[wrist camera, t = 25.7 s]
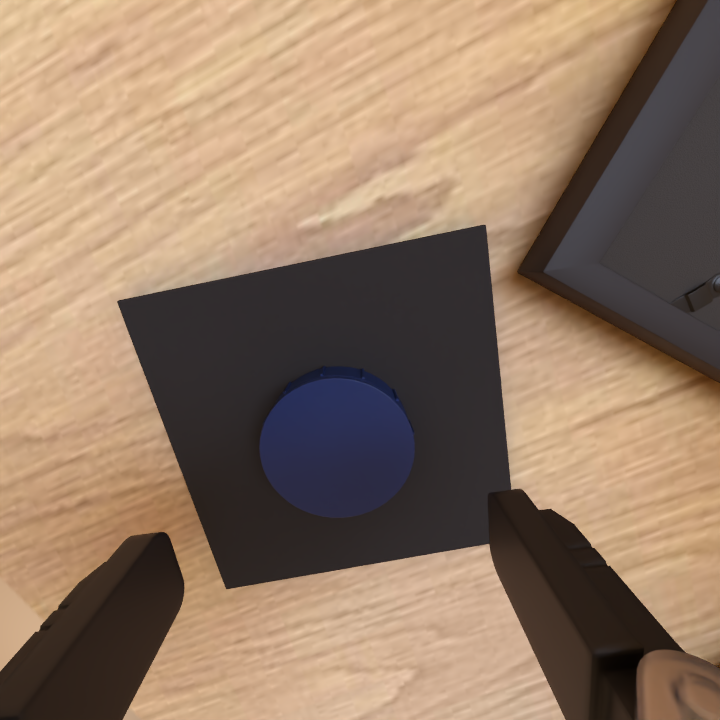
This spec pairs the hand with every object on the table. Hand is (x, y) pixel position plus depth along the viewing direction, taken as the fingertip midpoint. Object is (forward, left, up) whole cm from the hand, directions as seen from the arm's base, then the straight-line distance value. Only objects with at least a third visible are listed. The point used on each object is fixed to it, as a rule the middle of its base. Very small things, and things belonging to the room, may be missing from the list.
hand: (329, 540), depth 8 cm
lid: (0, 0, -5) cm, 5 cm away
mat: (0, 0, -7) cm, 7 cm away
